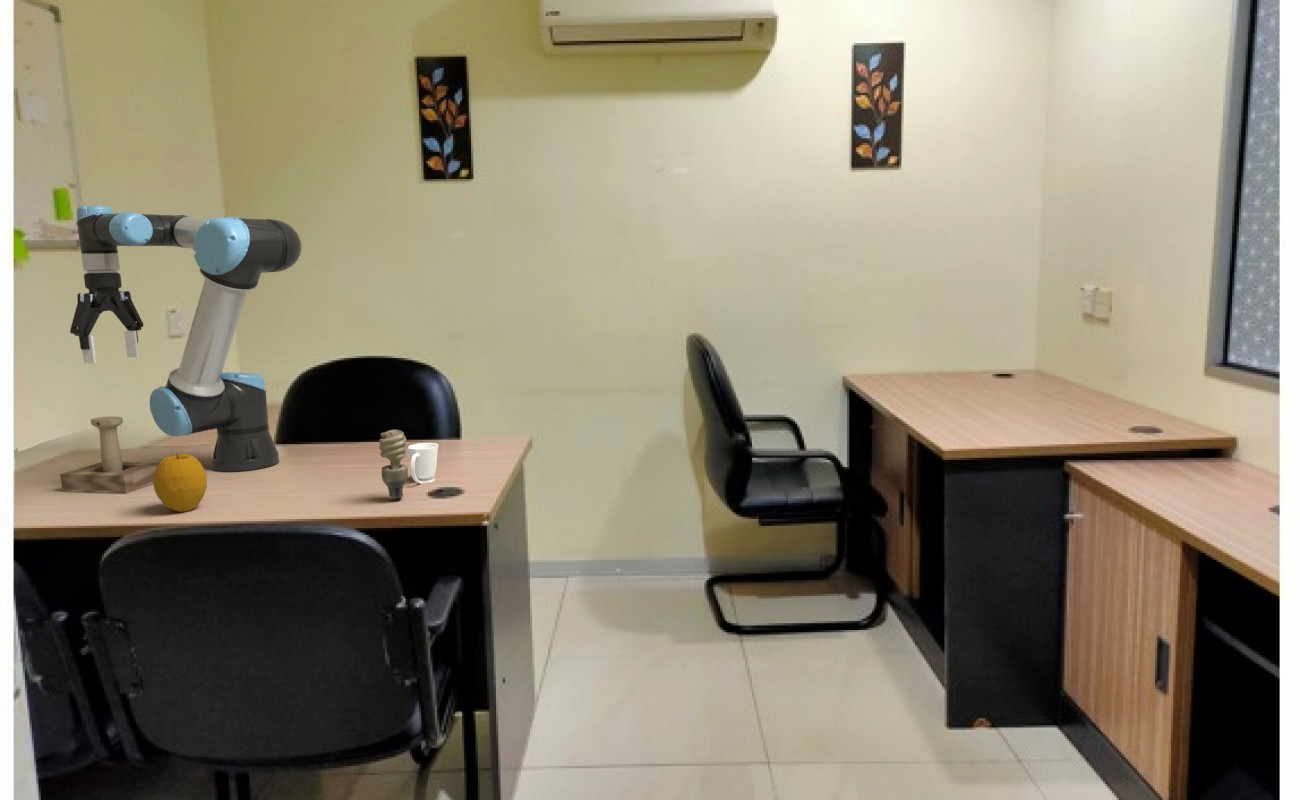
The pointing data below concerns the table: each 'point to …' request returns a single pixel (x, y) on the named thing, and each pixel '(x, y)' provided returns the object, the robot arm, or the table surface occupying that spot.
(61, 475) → the slot block
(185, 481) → the apple
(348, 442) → the table surface
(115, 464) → the handle
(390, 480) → the light bulb
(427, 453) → the cup
